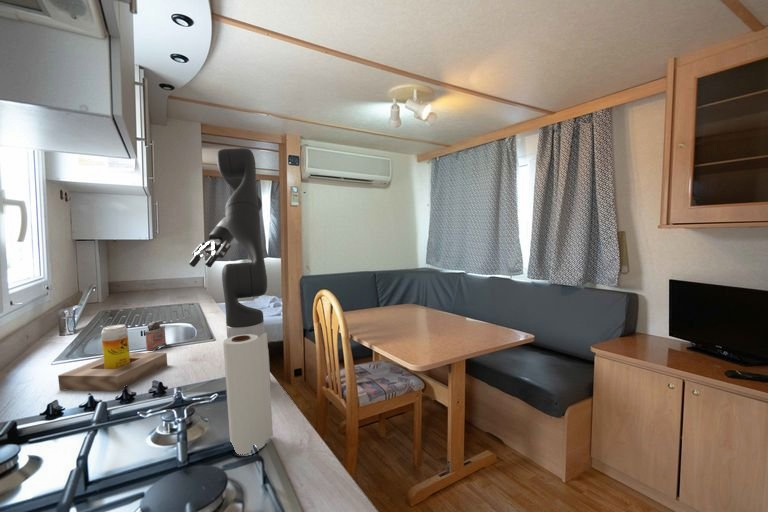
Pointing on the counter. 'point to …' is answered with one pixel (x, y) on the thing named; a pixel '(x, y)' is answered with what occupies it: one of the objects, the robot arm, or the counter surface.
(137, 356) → the socket block
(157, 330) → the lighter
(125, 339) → the yellow cylinder
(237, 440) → the paper towel roll
